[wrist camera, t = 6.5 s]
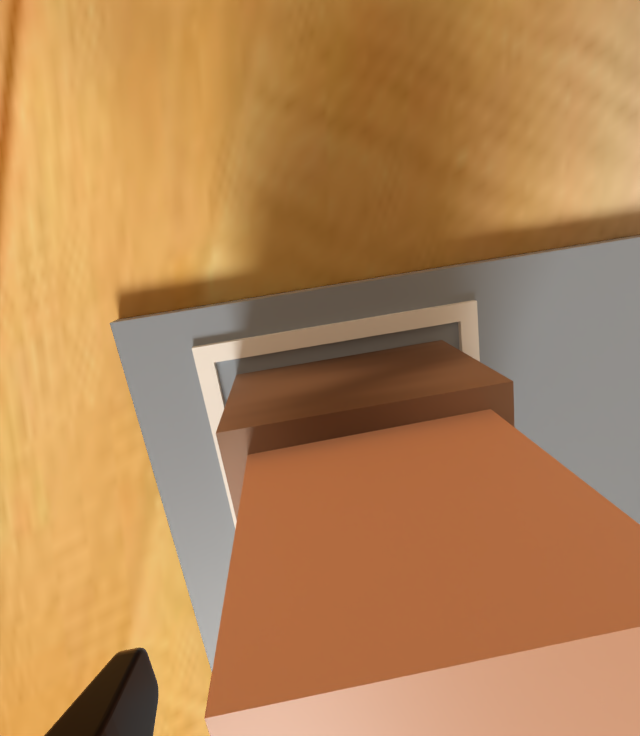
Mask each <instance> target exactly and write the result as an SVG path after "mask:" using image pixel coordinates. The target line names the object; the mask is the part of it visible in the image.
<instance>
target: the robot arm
mask: <svg viewBox="0 0 640 736" xmlns="http://www.w3.org/2000/svg"><path fill="white" fill-rule="evenodd" d="M157 704H158V684H157V680H156V677H155V674H154V671H153V669H152V666H151V663H150V660H149V657H148V654H147V652H146V650H145V649H144V648H135V649H130V650H125V651H121V652H119V653H117V654H116V655H115V656H114V657H113V658H112V659H111V660H110V661H109V662H108V664H107V665H106V666H105V667H104V668H103V669H102V670H101V672H100V673H99V674H98V675H97V676H96V677H95V678H94V680H93V681H92V682H91V683H90V684H89V685H88V686H87V688H86V689H85V690H84V691H83V692H82V693H81V694H80V696H79V697H78V698H77V699H76V700H75V701H74V702H73V704H72V705H71V706H70V707H69V708H68V709H67V710H66V712H65V713H64V714H63V715H62V716H61V717H60V718H59V720H58V721H57V722H56V723H55V724H54V725H53V726H52V728H51V729H50V730H49V731H48V732H47V733H46V734H45V736H153V731H154V724H155V717H156V710H157Z"/></svg>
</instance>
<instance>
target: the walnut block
mask: <svg viewBox="0 0 640 736" xmlns="http://www.w3.org/2000/svg"><path fill="white" fill-rule="evenodd" d="M488 409H491V410H493V411H494V412H495V413H497V414H498V415H499V416H500V417H502V418H503V419H504V420H506V421H507V422H508V423H509V424H511V425H512V426H513V427H515V426H514V387H513V381H512V380H510V379H509V378H507V377H505V376H503V375H502V374H500V373H498V372H497V371H495V370H493V369H491V368H490V367H488V366H486V365H484V364H483V363H481V362H479V361H478V360H476V359H474V358H472V357H471V356H469V355H467V354H465V353H464V352H462V351H460V350H459V349H457V348H455V347H453V346H452V345H450V344H448V343H447V342H445V341H443V340H439V341H433V342H427V343H421V344H415V345H409V346H403V347H397V348H391V349H385V350H379V351H374V352H368V353H362V354H356V355H350V356H344V357H338V358H332V359H326V360H320V361H314V362H309V363H303V364H297V365H291V366H285V367H279V368H273V369H267V370H261V371H255V372H249V373H243V374H238V375H236V377H235V380H234V383H233V385H232V388H231V391H230V394H229V397H228V400H227V402H226V405H225V408H224V411H223V414H222V417H221V419H220V422H219V425H218V428H217V431H216V437H217V441H218V445H219V449H220V454H221V458H222V462H223V466H224V470H225V474H226V479H227V483H228V487H229V491H230V495H231V499H232V504H233V508H234V512H235V516H236V520H237V516H238V510H239V504H240V498H241V492H242V486H243V480H244V473H245V467H246V461H247V455H250V454H255V453H260V452H265V451H271V450H276V449H281V448H287V447H292V446H297V445H303V444H308V443H313V442H318V441H324V440H329V439H334V438H340V437H345V436H350V435H356V434H361V433H366V432H372V431H377V430H382V429H387V428H393V427H398V426H403V425H409V424H414V423H419V422H425V421H430V420H435V419H440V418H446V417H451V416H456V415H462V414H467V413H472V412H478V411H483V410H488Z"/></svg>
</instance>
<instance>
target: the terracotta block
mask: <svg viewBox="0 0 640 736" xmlns="http://www.w3.org/2000/svg"><path fill="white" fill-rule="evenodd" d="M205 721H206V724H207V727H208V730H209V734H210V736H640V524H638V523H637V522H636V521H635V520H633V519H632V518H631V517H629V516H628V515H627V514H626V513H624V512H623V511H622V510H620V509H619V508H618V507H616V506H615V505H614V504H613V503H611V502H610V501H609V500H607V499H606V498H605V497H604V496H602V495H601V494H600V493H598V492H597V491H596V490H595V489H593V488H592V487H591V486H589V485H588V484H587V483H586V482H584V481H583V480H582V479H580V478H579V477H578V476H577V475H575V474H574V473H573V472H571V471H570V470H569V469H567V468H566V467H565V466H564V465H562V464H561V463H560V462H558V461H557V460H556V459H555V458H553V457H552V456H551V455H549V454H548V453H547V452H546V451H544V450H543V449H542V448H540V447H539V446H538V445H537V444H535V443H534V442H533V441H531V440H530V439H529V438H528V437H526V436H525V435H524V434H522V433H521V432H520V431H518V430H517V429H516V428H515V427H513V426H512V425H511V424H509V423H508V422H507V421H506V420H504V419H503V418H502V417H500V416H499V415H498V414H497V413H495V412H494V411H493V410H491V409H488V410H483V411H478V412H472V413H467V414H462V415H456V416H451V417H446V418H440V419H435V420H430V421H425V422H419V423H414V424H409V425H403V426H398V427H393V428H387V429H382V430H377V431H372V432H366V433H361V434H356V435H350V436H345V437H340V438H334V439H329V440H324V441H318V442H313V443H308V444H303V445H297V446H292V447H287V448H281V449H276V450H271V451H265V452H260V453H255V454H250V455H247V461H246V467H245V473H244V480H243V486H242V492H241V498H240V504H239V510H238V516H237V522H236V529H235V535H234V541H233V547H232V553H231V559H230V565H229V572H228V578H227V584H226V590H225V596H224V602H223V608H222V615H221V621H220V627H219V633H218V639H217V645H216V651H215V657H214V664H213V670H212V676H211V682H210V688H209V694H208V700H207V707H206V713H205Z"/></svg>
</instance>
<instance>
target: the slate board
mask: <svg viewBox="0 0 640 736" xmlns="http://www.w3.org/2000/svg"><path fill="white" fill-rule="evenodd" d="M110 325H111V329H112V332H113V336H114V339H115V342H116V346H117V349H118V353H119V356H120V359H121V363H122V366H123V370H124V373H125V377H126V380H127V383H128V387H129V390H130V394H131V397H132V400H133V404H134V407H135V411H136V414H137V418H138V421H139V424H140V428H141V431H142V435H143V438H144V442H145V445H146V448H147V452H148V455H149V459H150V462H151V465H152V469H153V472H154V476H155V479H156V483H157V486H158V489H159V493H160V496H161V500H162V503H163V506H164V510H165V513H166V517H167V520H168V524H169V527H170V530H171V534H172V537H173V541H174V544H175V548H176V551H177V554H178V558H179V561H180V565H181V568H182V571H183V575H184V578H185V582H186V585H187V589H188V592H189V595H190V599H191V602H192V606H193V609H194V612H195V616H196V619H197V623H198V626H199V630H200V633H201V636H202V640H203V643H204V647H205V650H206V653H207V657H208V660H209V664H210V667H211V671H212V670H213V664H214V657H215V651H216V645H217V639H218V633H219V627H220V621H221V615H222V608H223V602H224V596H225V590H226V584H227V578H228V572H229V565H230V559H231V553H232V547H233V541H234V535H235V529H236V522H237V520H236V516H235V512H234V508H233V504H232V499H231V495H230V491H229V487H228V483H227V479H226V474H225V470H224V466H223V462H222V458H221V454H220V449H219V445H218V441H217V437H216V431H217V428H218V425H219V422H220V419H221V417H222V414H223V411H224V408H225V405H226V402H227V400H228V397H229V394H230V391H231V388H232V385H233V383H234V380H235V377H236V375H238V374H243V373H249V372H255V371H261V370H267V369H273V368H279V367H285V366H291V365H297V364H303V363H309V362H314V361H320V360H326V359H332V358H338V357H344V356H350V355H356V354H362V353H368V352H374V351H379V350H385V349H391V348H397V347H403V346H409V345H415V344H421V343H427V342H433V341H439V340H443V341H445V342H447V343H448V344H450V345H452V346H453V347H455V348H457V349H459V350H460V351H462V352H464V353H465V354H467V355H469V356H471V357H472V358H474V359H476V360H478V361H479V362H481V363H483V364H484V365H486V366H488V367H490V368H491V369H493V370H495V371H497V372H498V373H500V374H502V375H503V376H505V377H507V378H509V379H510V380H512V381H513V387H514V426H515V428H516V429H517V430H518V431H520V432H521V433H522V434H524V435H525V436H526V437H528V438H529V439H530V440H531V441H533V442H534V443H535V444H537V445H538V446H539V447H540V448H542V449H543V450H544V451H546V452H547V453H548V454H549V455H551V456H552V457H553V458H555V459H556V460H557V461H558V462H560V463H561V464H562V465H564V466H565V467H566V468H567V469H569V470H570V471H571V472H573V473H574V474H575V475H577V476H578V477H579V478H580V479H582V480H583V481H584V482H586V483H587V484H588V485H589V486H591V487H592V488H593V489H595V490H596V491H597V492H598V493H600V494H601V495H602V496H604V497H605V498H606V499H607V500H609V501H610V502H611V503H613V504H614V505H615V506H616V507H618V508H619V509H620V510H622V511H623V512H624V513H626V514H627V515H628V516H629V517H631V518H632V519H633V520H635V521H636V522H637V523H638V524H640V235H636V236H630V237H624V238H618V239H612V240H605V241H599V242H593V243H587V244H581V245H574V246H568V247H562V248H556V249H550V250H544V251H537V252H531V253H525V254H519V255H513V256H507V257H500V258H494V259H488V260H482V261H476V262H470V263H463V264H457V265H451V266H445V267H439V268H432V269H426V270H420V271H414V272H408V273H402V274H395V275H389V276H383V277H377V278H371V279H365V280H358V281H352V282H346V283H340V284H334V285H328V286H321V287H315V288H309V289H303V290H297V291H290V292H284V293H278V294H272V295H266V296H260V297H253V298H247V299H241V300H235V301H229V302H223V303H216V304H210V305H204V306H198V307H192V308H186V309H179V310H173V311H167V312H161V313H155V314H148V315H142V316H136V317H130V318H124V319H118V320H116V321H113V322H111V323H110Z"/></svg>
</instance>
